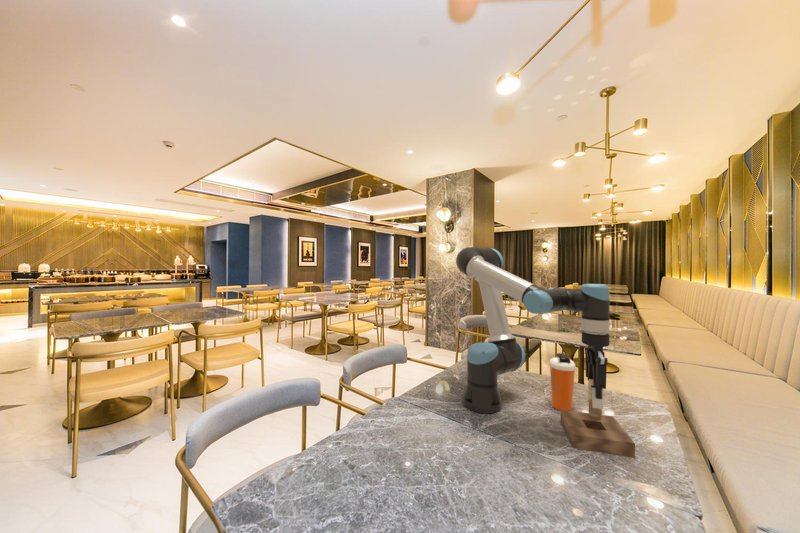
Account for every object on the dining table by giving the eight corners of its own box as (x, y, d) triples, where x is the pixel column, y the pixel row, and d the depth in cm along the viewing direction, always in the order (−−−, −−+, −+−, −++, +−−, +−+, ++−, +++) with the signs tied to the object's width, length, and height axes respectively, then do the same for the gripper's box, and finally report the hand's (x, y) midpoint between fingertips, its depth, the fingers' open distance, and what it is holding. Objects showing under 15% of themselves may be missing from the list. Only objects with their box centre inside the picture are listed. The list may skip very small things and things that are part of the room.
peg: (590, 419, 95) (590, 382, 95) (587, 414, 98) (587, 378, 98) (603, 421, 94) (603, 383, 94) (599, 416, 97) (599, 379, 97)
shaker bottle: (568, 402, 121) (569, 352, 121) (579, 413, 112) (580, 359, 112) (545, 400, 122) (546, 352, 122) (554, 411, 113) (555, 358, 113)
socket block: (572, 447, 91) (573, 434, 91) (560, 420, 106) (560, 409, 106) (634, 457, 87) (635, 443, 87) (612, 428, 102) (612, 416, 102)
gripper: (619, 338, 87) (619, 419, 87) (599, 327, 103) (599, 396, 103) (590, 337, 89) (590, 415, 89) (574, 326, 105) (575, 393, 105)
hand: (595, 404), depth 96 cm, fingers closed on peg, 3 cm apart
